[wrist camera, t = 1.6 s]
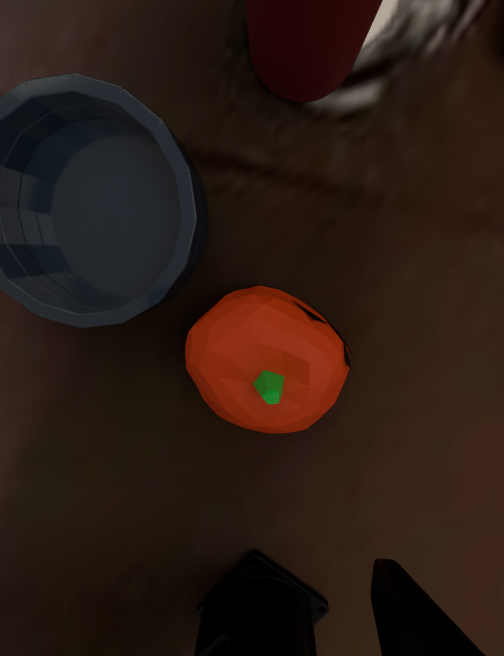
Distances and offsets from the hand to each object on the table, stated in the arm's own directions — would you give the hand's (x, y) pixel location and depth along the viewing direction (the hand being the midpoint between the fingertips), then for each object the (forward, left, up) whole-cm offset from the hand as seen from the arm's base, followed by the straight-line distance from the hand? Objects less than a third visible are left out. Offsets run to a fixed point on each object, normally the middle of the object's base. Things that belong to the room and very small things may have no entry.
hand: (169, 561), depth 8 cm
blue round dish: (+10, -3, -13) cm, 17 cm away
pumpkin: (-1, -2, -13) cm, 14 cm away
